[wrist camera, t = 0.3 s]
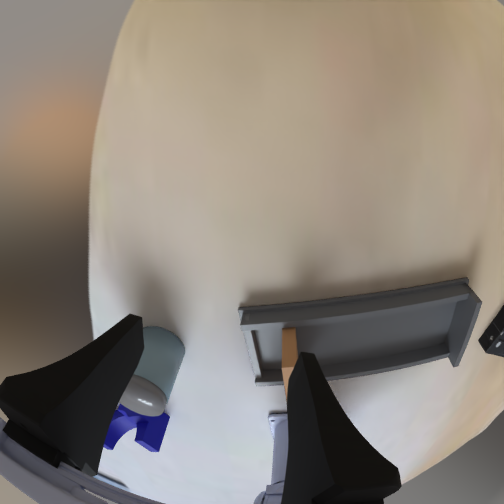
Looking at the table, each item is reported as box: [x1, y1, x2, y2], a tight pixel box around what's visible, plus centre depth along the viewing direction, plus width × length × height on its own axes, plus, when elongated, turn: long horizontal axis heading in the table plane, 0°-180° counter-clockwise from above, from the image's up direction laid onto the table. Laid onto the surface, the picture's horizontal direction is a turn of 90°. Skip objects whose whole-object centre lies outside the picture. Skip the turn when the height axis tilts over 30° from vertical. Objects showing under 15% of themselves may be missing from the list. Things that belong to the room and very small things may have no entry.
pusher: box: [282, 327, 298, 400], centre depth 21 cm, size 6×1×5 cm, turn 9°
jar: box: [119, 326, 185, 416], centre depth 23 cm, size 5×5×7 cm
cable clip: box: [103, 403, 170, 452], centre depth 31 cm, size 12×4×6 cm, turn 120°
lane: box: [238, 277, 482, 386], centre depth 22 cm, size 8×21×3 cm, turn 99°
